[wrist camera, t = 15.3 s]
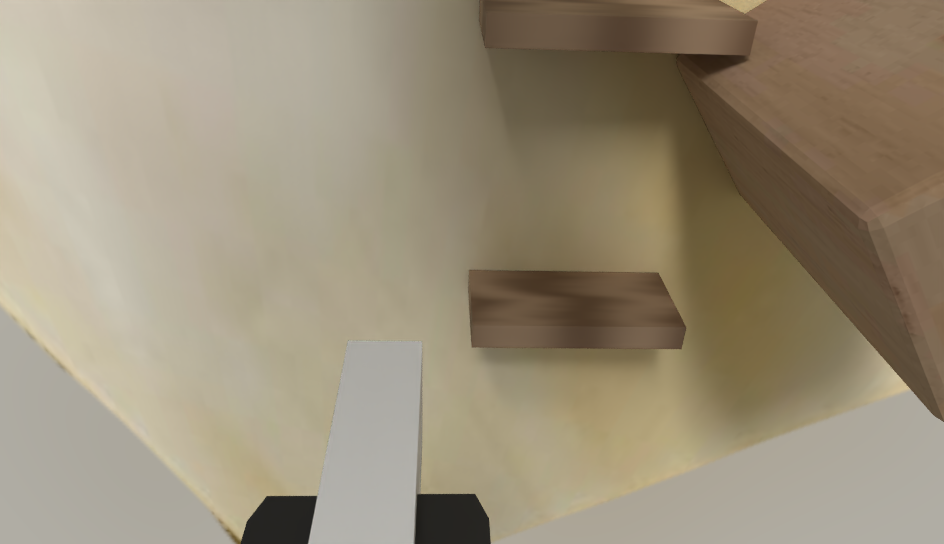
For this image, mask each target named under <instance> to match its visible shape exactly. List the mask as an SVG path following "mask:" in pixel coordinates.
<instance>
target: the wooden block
mask: <svg viewBox="0 0 944 544" xmlns="http://www.w3.org/2000/svg"><path fill="white" fill-rule="evenodd" d="M746 15H748V16H750V17H752V18H753V19H755V20H757V21H758V23H757V27H756V32H755V36H754V40H753V44H752V49H751V53H750V55H717V54H683V53H681V54H680V55H679V56H678V57H677V67H678V69H679V71H680V73H681V75H682V77H683V79H684V81H685V83H686V85H687V87H688V89H689V92H690V94H691V96H692V98H693V100H694V102H695V104H696V106H697V108H698V110H699V112H700V114H701V116H702V118H703V120H704V122H705V124H706V126H707V128H708V130H709V132H710V134H711V136H712V138H713V140H714V142H715V145H716V147H717V149H718V151H719V153H720V155H721V157H722V159H723V161H724V163H725V165H726V167H727V169H728V171H729V173H730V175H731V177H732V179H733V181H734V183H735V185H736V187H737V189H738V191H739V193H740V195H741V196H742V197H743V199H744V200H745V201H746V202H747V203H748V204H749V205H750V207H751V208H752V209H753V210H754V211H755V212H756V213H757V215H758V216H759V217H760V218H761V219H762V220H763V221H764V223H765V224H766V225H767V226H768V227H769V228H770V229H771V230H772V232H773V233H774V234H775V235H776V236H777V237H778V238H779V240H780V241H781V242H782V243H783V244H784V245H785V246H786V248H787V249H788V250H789V251H790V252H791V253H792V254H793V256H794V257H795V258H796V259H797V260H798V261H799V262H800V264H801V265H802V266H803V267H804V268H805V269H806V270H807V272H808V273H809V274H810V275H811V276H812V277H813V278H814V280H815V281H816V282H817V283H818V284H819V285H820V286H821V288H822V289H823V290H824V291H825V292H826V293H827V294H828V296H829V297H830V298H831V299H832V300H833V301H834V302H835V304H836V305H837V306H838V307H839V308H840V309H841V310H842V311H843V313H844V314H845V315H846V316H847V317H848V318H849V319H850V321H851V322H852V323H853V324H854V325H855V326H856V327H857V329H858V330H859V331H860V332H861V333H862V334H863V335H864V337H865V338H866V339H867V340H868V341H869V342H870V343H871V345H872V346H873V347H874V348H875V349H876V350H877V351H878V353H879V354H880V355H881V356H882V357H883V358H884V359H885V361H886V362H887V363H888V364H889V365H890V366H891V367H892V369H893V370H894V371H895V372H896V373H897V374H898V375H899V377H900V378H901V379H902V380H903V381H904V382H905V383H906V384H907V386H908V387H909V388H910V389H911V390H912V391H913V392H914V394H915V395H916V396H917V397H918V398H919V399H920V400H921V402H922V403H923V404H924V405H925V406H926V407H927V408H928V410H929V411H930V412H931V413H932V414H933V415H934V416H935V417H937V418H938V419H940V420H942V421H943V422H944V0H767V1H765V2H764V3H762V4H760V5H759V6H757V7H755V8H754V9H752V10H751V11H749V12H747V13H746Z"/></svg>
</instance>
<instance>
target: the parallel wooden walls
mask: <svg viewBox="0 0 944 544" xmlns="http://www.w3.org/2000/svg"><path fill="white" fill-rule="evenodd" d="M479 22H480V27H481V31H482V36H483V40H484V45H485V48H511V49H545V50H579V51H614V52H648V53H683V54H717V55H750V53H751V49H752V44H753V40H754V36H755V32H756V27H757V23H758V21H757V20H755V19H753V18H752V17H750V16H748V15H746V14H744V13H742V12H740V11H738V10H736V9H734V8H732V7H731V6H729V5H727V4H725V3H723V2H721V1H719V0H480V12H479ZM468 293H469V310H470V327H471V345H472V347H492V348H614V349H681V348H682V344H683V340H684V335H685V331H686V326H685V324H684V322H683V320H682V318H681V316H680V314H679V312H678V310H677V308H676V306H675V305H674V303H673V301H672V299H671V297H670V295H669V293H668V291H667V289H666V287H665V285H664V283H663V281H662V279H661V277H660V275H659V273H630V272H556V271H482V270H469V287H468Z"/></svg>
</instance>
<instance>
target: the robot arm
mask: <svg viewBox="0 0 944 544" xmlns="http://www.w3.org/2000/svg"><path fill="white" fill-rule="evenodd" d="M421 460H422V341H348V343H347V348H346V354H345V359H344V364H343V369H342V374H341V379H340V384H339V389H338V394H337V399H336V405H335V410H334V415H333V420H332V425H331V430H330V435H329V440H328V445H327V450H326V455H325V461H324V466H323V471H322V476H321V481H320V486H319V491H318V496H267V497H266V498H265V499H264V501H263V502H262V503H261V504H260V506H259V507H258V508H257V509H256V511H255V512H254V513H253V515H252V516H251V517H250V518H249V520H248V521H247V524H246V527H245V530H244V534H243V537H242V541H241V544H491V542H490V527H489V518H488V516H487V514H486V513H485V511H484V509H483V507H482V505H481V504H480V502H479V500H478V498H477V497H476V495H475V494H420V488H421Z"/></svg>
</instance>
